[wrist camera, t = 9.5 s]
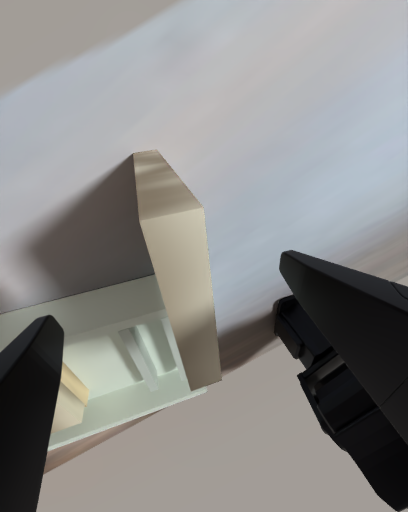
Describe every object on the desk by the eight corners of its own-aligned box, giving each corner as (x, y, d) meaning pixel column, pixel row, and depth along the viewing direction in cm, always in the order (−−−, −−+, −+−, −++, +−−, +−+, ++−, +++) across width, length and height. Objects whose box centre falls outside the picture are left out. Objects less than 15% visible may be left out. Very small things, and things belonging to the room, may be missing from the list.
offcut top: (45, 366, 16) (38, 386, 15) (84, 404, 20) (81, 422, 19) (-31, 389, 15) (-45, 413, 14) (26, 424, 19) (19, 444, 18)
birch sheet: (156, 149, 13) (203, 207, 5) (179, 257, 17) (221, 380, 9) (133, 153, 12) (139, 220, 4) (162, 261, 17) (191, 391, 9)
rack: (178, 268, 18) (189, 301, 15) (197, 357, 26) (207, 391, 23) (-76, 333, 15) (-134, 395, 11) (36, 412, 23) (21, 461, 19)
